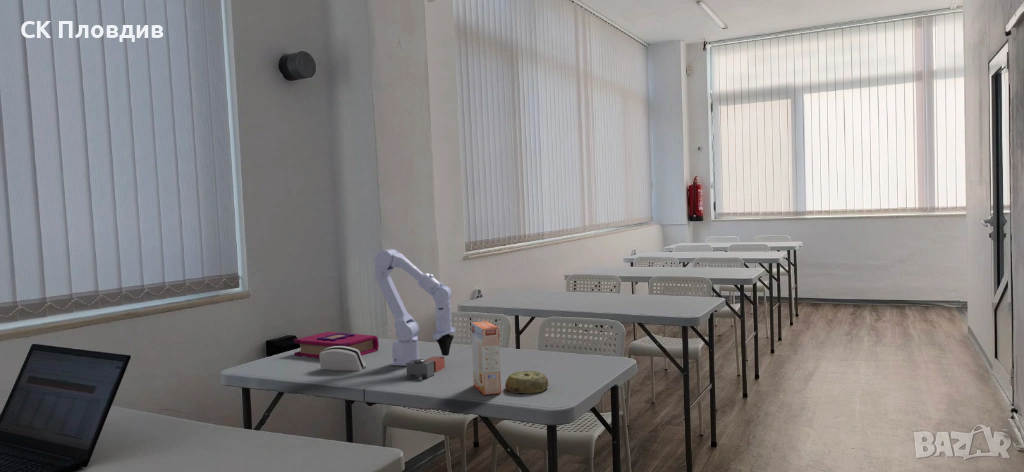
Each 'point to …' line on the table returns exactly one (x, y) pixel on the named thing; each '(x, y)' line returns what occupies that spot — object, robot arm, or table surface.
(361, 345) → the book
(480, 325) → the cracker box
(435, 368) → the red notched block
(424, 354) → the table surface
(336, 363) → the white napkin holder
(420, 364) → the coupler
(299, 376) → the table surface
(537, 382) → the greenish tan ring
